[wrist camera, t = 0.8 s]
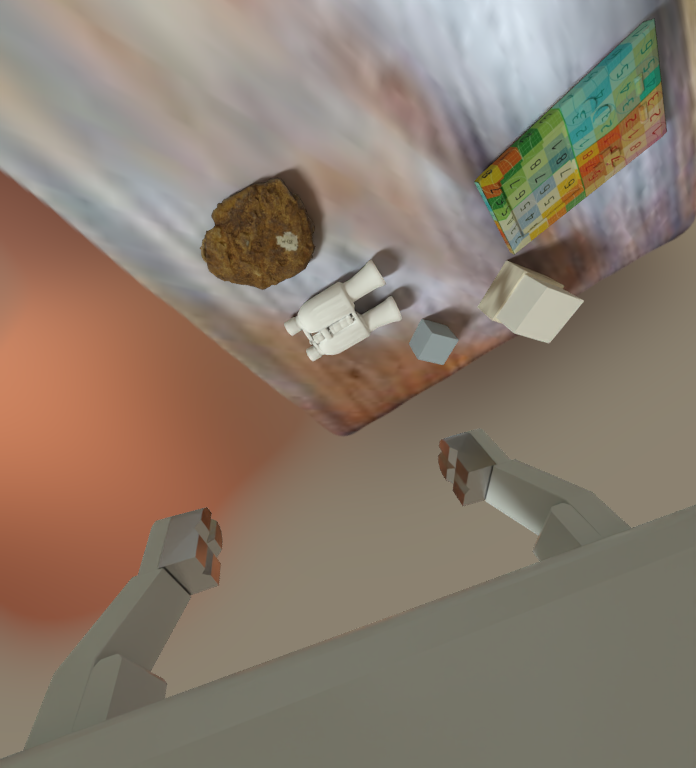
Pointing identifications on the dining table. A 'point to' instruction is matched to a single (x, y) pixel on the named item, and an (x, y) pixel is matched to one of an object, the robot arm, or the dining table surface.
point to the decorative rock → (259, 236)
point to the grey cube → (433, 342)
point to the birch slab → (507, 287)
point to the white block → (538, 309)
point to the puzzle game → (578, 141)
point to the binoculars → (343, 314)
